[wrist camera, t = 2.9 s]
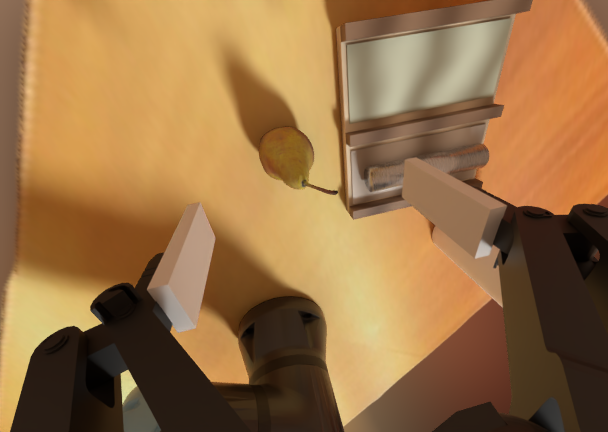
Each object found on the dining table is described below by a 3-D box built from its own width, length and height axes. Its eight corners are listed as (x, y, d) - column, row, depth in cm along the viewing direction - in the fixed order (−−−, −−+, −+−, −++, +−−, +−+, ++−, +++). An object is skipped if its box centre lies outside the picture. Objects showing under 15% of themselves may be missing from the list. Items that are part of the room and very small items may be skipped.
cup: (435, 211, 36) (545, 293, 23) (485, 200, 37) (620, 273, 24) (428, 253, 41) (517, 342, 27) (472, 242, 41) (581, 324, 28)
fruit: (281, 109, 25) (302, 133, 15) (317, 147, 28) (354, 189, 18) (246, 147, 27) (243, 193, 16) (283, 180, 29) (300, 237, 19)
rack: (346, 209, 33) (353, 219, 31) (335, 28, 23) (345, 23, 20) (466, 182, 35) (480, 190, 32) (508, 0, 24) (534, -7, 22)
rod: (364, 188, 30) (375, 194, 27) (362, 164, 29) (373, 168, 26) (467, 166, 31) (487, 170, 28) (469, 142, 30) (490, 143, 27)
